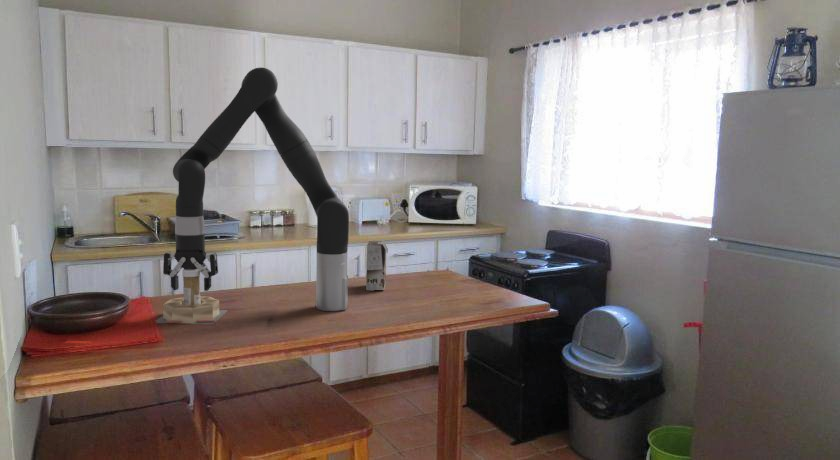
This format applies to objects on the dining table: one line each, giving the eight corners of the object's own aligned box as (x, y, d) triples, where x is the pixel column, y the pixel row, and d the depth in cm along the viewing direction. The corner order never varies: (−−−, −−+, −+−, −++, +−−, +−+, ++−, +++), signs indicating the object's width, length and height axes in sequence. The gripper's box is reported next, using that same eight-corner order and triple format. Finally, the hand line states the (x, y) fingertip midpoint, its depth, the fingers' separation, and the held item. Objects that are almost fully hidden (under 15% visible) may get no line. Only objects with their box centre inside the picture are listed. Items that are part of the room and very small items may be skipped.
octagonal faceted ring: (223, 310, 174) (223, 297, 174) (208, 323, 161) (207, 309, 160) (176, 309, 174) (176, 295, 174) (157, 322, 161) (156, 308, 160)
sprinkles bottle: (203, 316, 167) (201, 269, 165) (185, 319, 164) (184, 271, 163) (199, 313, 171) (197, 266, 169) (182, 315, 168) (180, 268, 166)
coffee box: (384, 291, 207) (385, 245, 204) (365, 290, 207) (366, 244, 204) (386, 285, 216) (387, 241, 213) (368, 284, 216) (369, 240, 214)
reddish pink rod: (214, 321, 163) (214, 318, 163) (214, 322, 162) (214, 319, 162) (166, 322, 161) (166, 319, 161) (165, 323, 160) (165, 320, 160)
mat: (228, 312, 175) (228, 310, 175) (212, 326, 161) (212, 324, 161) (172, 310, 174) (172, 308, 174) (152, 324, 160) (152, 322, 160)
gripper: (220, 231, 168) (221, 287, 170) (169, 229, 168) (170, 286, 170) (211, 234, 161) (212, 293, 163) (158, 233, 161) (159, 292, 163)
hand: (191, 289), depth 167 cm, fingers open, 8 cm apart
